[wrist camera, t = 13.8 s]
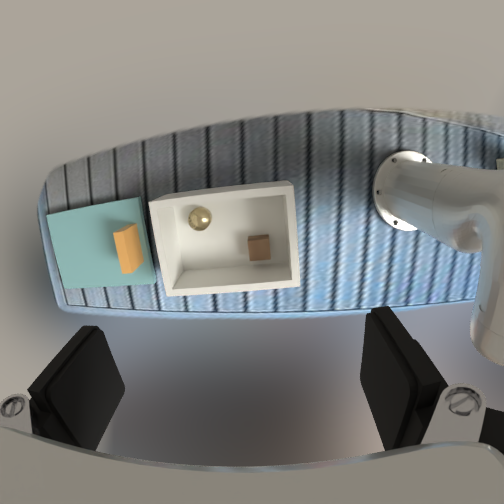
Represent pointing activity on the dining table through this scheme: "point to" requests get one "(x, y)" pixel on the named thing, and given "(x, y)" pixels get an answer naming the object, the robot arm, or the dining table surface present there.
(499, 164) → the skincare box
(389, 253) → the dining table surface
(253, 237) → the walnut block
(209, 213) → the brass ball
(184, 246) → the tub
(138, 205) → the lid
